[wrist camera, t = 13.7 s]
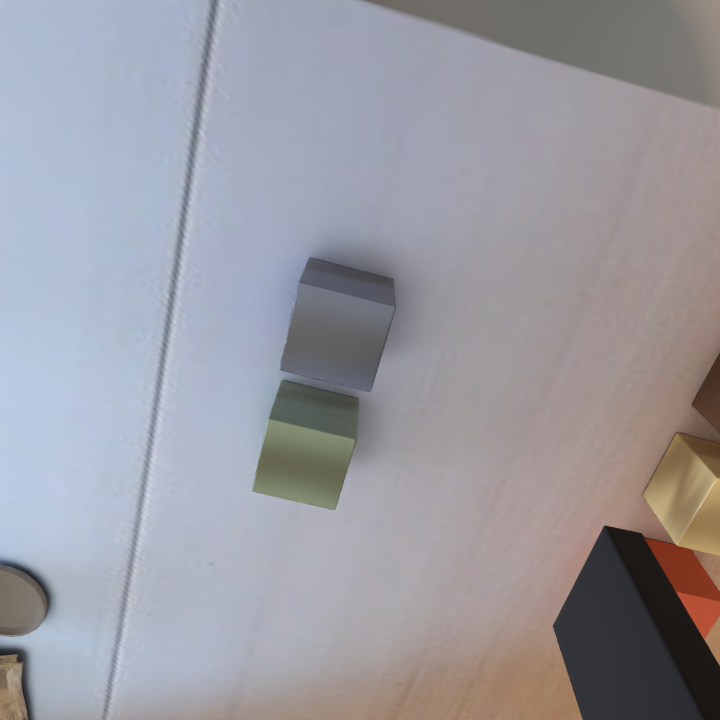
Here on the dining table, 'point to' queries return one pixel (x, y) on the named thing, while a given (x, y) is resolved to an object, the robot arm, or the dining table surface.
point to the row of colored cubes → (691, 480)
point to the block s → (689, 583)
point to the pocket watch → (20, 602)
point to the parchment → (11, 689)
